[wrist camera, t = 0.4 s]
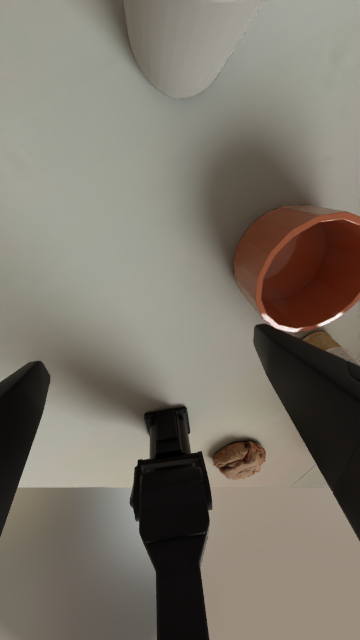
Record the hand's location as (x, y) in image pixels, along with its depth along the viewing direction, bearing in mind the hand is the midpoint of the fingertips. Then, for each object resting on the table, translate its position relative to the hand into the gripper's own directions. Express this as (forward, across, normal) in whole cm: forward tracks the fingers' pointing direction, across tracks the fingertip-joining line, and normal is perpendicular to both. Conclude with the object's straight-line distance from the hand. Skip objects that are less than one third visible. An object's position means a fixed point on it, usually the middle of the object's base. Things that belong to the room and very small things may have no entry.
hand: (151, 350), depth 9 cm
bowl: (+14, -13, +2) cm, 20 cm away
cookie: (+15, -10, +40) cm, 44 cm away
